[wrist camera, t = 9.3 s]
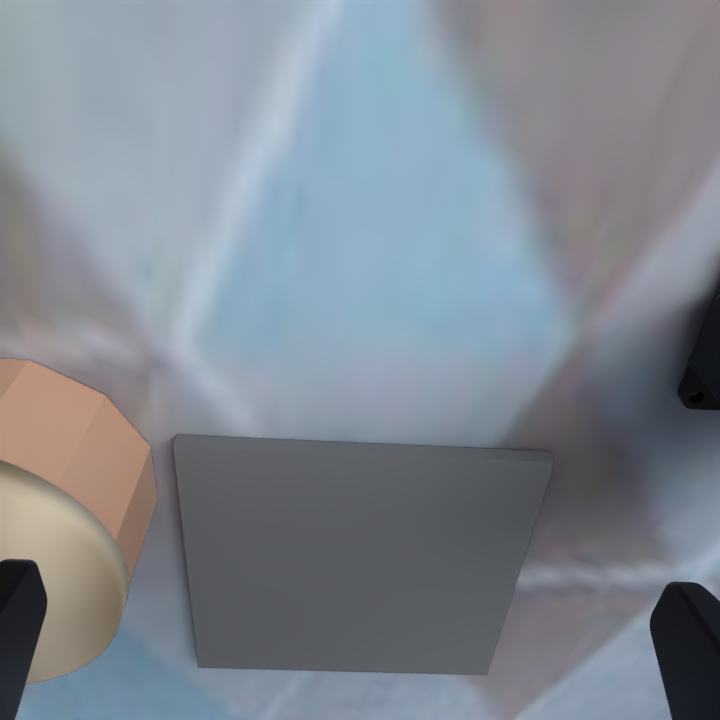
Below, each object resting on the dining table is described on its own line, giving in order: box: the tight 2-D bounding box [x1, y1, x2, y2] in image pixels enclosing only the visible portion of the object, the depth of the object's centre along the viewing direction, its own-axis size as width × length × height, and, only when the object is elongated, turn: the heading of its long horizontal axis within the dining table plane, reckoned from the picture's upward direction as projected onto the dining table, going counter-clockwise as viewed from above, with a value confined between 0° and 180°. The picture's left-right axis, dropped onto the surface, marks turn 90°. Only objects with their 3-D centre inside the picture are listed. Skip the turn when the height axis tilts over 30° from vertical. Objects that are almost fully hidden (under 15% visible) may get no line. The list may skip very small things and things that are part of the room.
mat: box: [173, 435, 554, 675], centre depth 28 cm, size 14×14×1 cm
